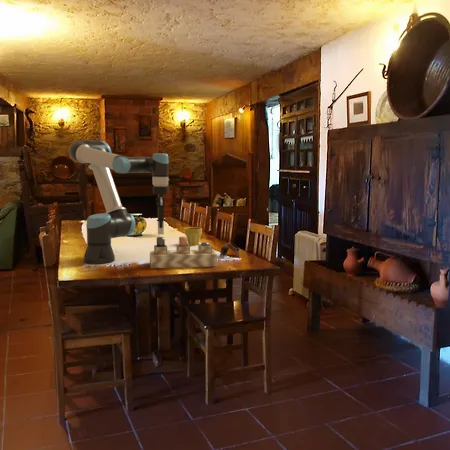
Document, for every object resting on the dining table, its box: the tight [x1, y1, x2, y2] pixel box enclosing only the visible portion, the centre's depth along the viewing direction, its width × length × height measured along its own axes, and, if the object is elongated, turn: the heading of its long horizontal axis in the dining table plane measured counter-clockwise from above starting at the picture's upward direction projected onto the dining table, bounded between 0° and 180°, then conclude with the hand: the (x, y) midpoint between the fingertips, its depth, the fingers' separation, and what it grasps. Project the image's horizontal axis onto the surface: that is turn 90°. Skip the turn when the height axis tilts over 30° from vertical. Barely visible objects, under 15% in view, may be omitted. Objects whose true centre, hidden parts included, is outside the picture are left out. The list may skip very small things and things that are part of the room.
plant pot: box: [184, 226, 203, 246], centre depth 299 cm, size 10×10×10 cm
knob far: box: [200, 241, 210, 246], centre depth 247 cm, size 4×4×4 cm
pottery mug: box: [219, 241, 240, 257], centre depth 267 cm, size 12×10×8 cm
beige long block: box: [149, 243, 218, 269], centre depth 246 cm, size 32×12×10 cm, turn 101°
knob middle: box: [178, 236, 188, 247], centre depth 245 cm, size 4×4×4 cm
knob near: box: [156, 236, 166, 247], centre depth 242 cm, size 4×4×4 cm
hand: (160, 234), depth 242 cm, fingers closed
